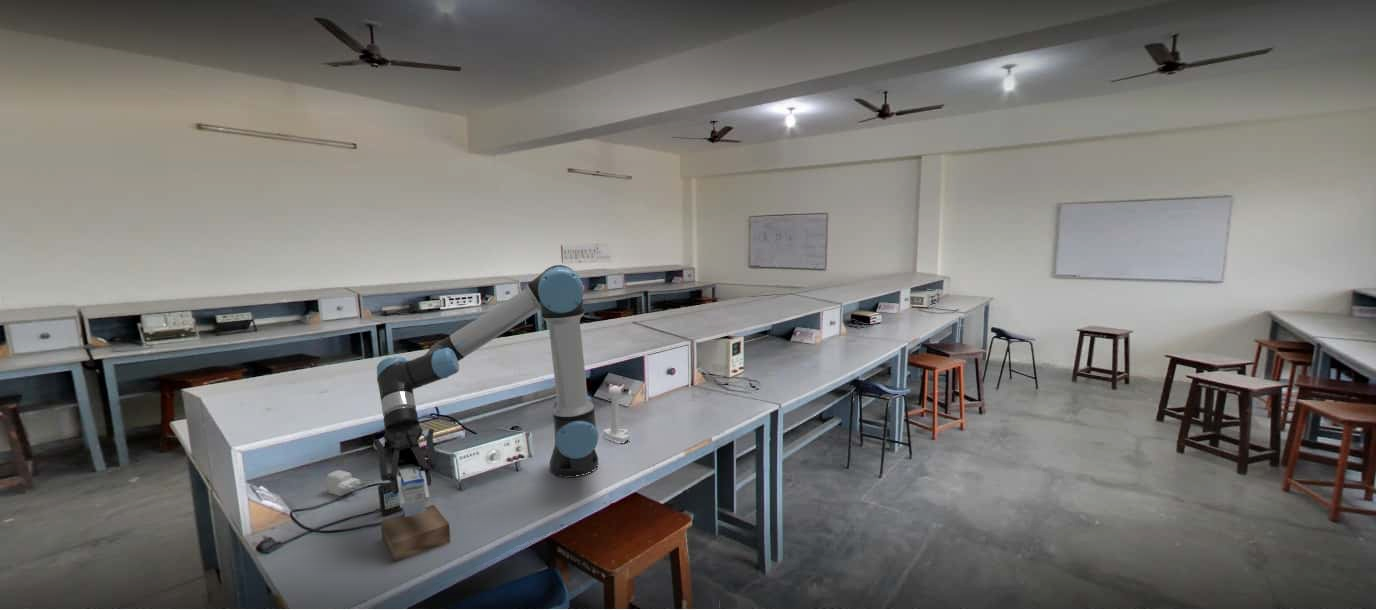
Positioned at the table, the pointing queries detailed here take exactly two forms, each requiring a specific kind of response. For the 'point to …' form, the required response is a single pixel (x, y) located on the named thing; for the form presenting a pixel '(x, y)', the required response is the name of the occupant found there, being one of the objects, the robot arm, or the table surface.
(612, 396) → the joystick
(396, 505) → the ink cartridge
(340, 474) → the power adapter
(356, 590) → the table surface
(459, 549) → the table surface
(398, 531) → the walnut block
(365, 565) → the table surface
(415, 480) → the medicine box
